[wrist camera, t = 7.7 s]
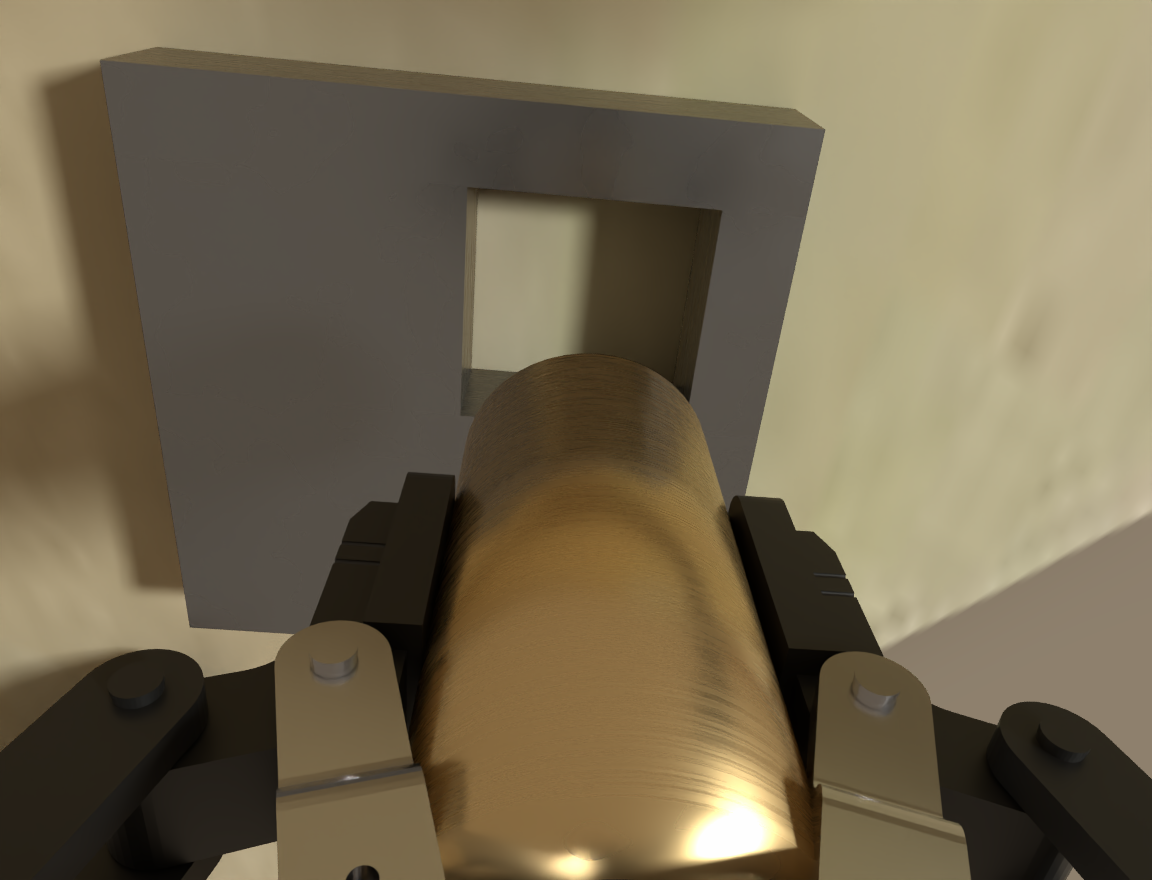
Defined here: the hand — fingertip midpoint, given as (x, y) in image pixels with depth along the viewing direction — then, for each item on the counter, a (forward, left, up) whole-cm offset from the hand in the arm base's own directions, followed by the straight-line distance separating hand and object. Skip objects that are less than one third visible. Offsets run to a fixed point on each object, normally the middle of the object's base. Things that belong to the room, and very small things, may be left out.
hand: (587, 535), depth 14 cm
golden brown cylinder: (0, 0, -2) cm, 2 cm away
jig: (+3, -3, -12) cm, 13 cm away
